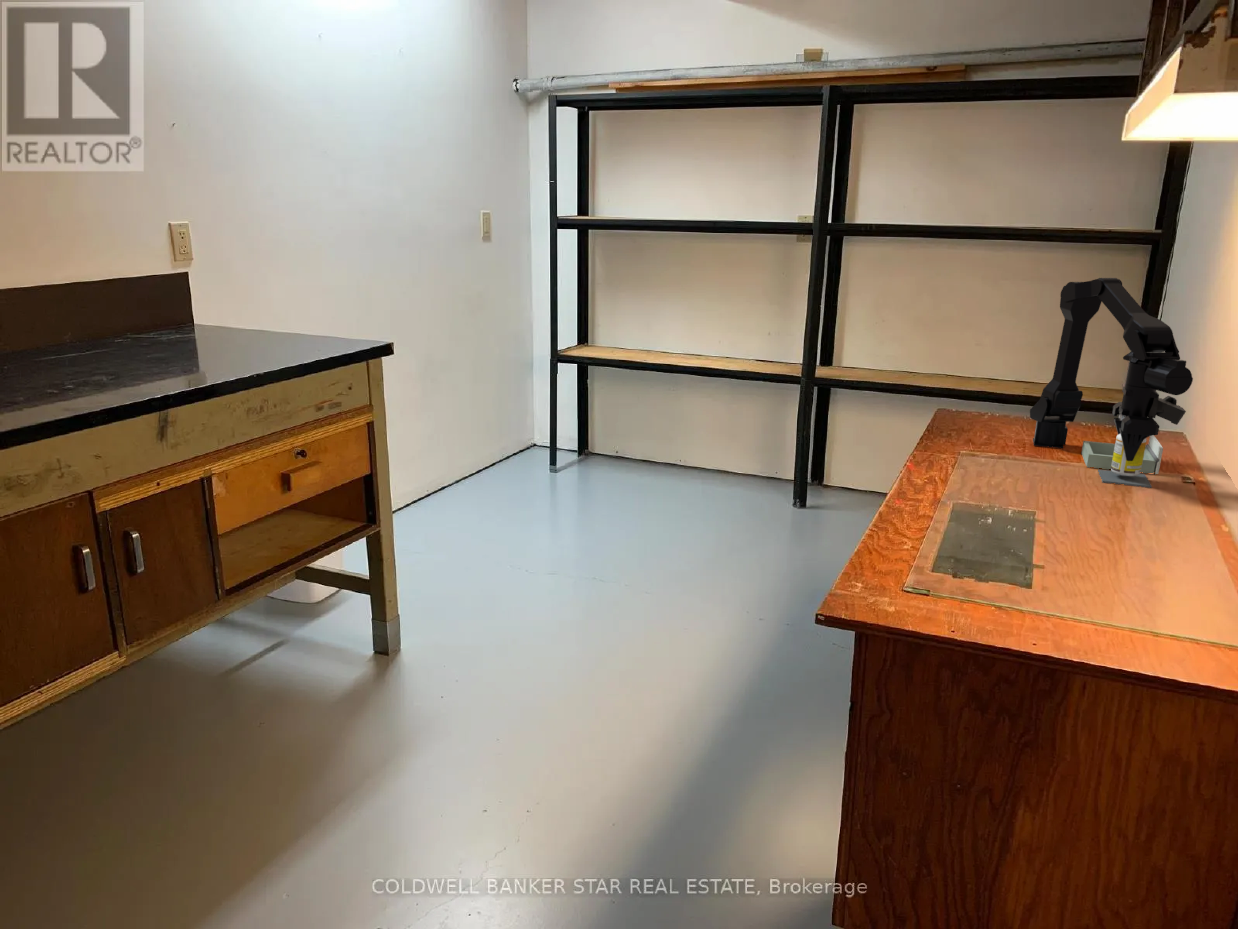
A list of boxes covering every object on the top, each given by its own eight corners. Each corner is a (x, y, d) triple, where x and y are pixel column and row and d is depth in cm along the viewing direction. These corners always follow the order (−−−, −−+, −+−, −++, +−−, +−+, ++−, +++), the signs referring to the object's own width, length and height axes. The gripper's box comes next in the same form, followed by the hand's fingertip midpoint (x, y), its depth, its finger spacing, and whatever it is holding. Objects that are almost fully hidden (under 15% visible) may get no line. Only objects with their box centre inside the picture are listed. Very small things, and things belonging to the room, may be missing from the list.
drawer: (1086, 467, 192) (1091, 441, 190) (1081, 452, 203) (1085, 428, 202) (1158, 474, 187) (1163, 448, 185) (1148, 459, 198) (1153, 434, 197)
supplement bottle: (1144, 473, 183) (1153, 427, 180) (1133, 478, 179) (1142, 431, 176) (1116, 467, 187) (1124, 422, 184) (1105, 472, 183) (1114, 426, 180)
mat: (1102, 482, 181) (1102, 480, 181) (1097, 471, 189) (1098, 469, 189) (1151, 487, 178) (1151, 486, 178) (1144, 476, 186) (1144, 474, 186)
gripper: (1195, 397, 166) (1180, 473, 171) (1177, 380, 183) (1163, 450, 187) (1130, 392, 170) (1116, 467, 175) (1118, 376, 187) (1106, 445, 191)
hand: (1127, 457), depth 182 cm, fingers closed on supplement bottle, 5 cm apart
